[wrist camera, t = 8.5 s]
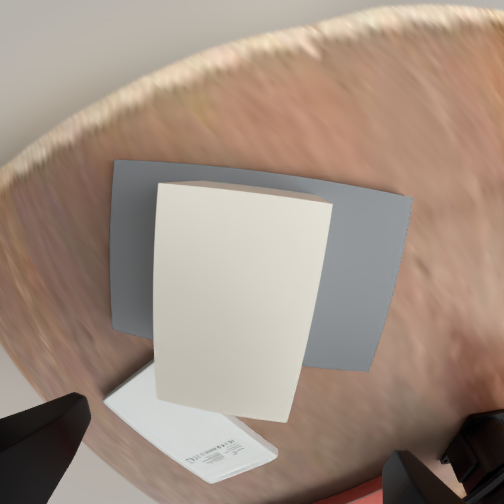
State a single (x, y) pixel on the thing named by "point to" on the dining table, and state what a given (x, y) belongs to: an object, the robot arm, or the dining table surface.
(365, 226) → the base plate
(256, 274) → the block
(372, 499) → the plant saucer
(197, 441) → the external hard drive
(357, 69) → the dining table surface
